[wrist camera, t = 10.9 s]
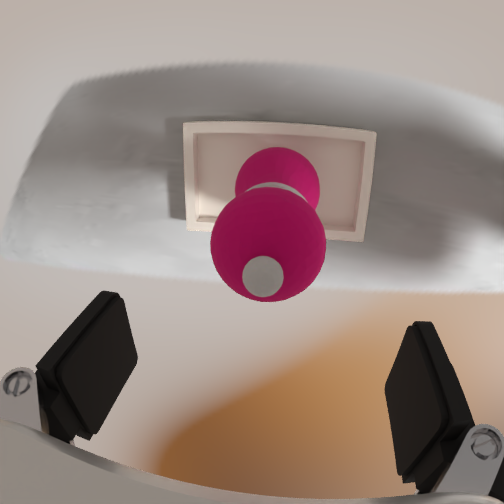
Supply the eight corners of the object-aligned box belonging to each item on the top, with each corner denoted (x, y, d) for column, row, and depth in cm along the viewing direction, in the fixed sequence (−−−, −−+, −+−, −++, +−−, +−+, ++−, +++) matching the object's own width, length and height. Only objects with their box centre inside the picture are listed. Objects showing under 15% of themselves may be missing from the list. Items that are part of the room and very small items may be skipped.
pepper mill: (228, 169, 31) (143, 264, 13) (287, 127, 29) (283, 162, 11) (271, 225, 33) (245, 371, 15) (330, 187, 31) (378, 306, 13)
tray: (370, 130, 29) (376, 132, 26) (358, 232, 33) (363, 242, 31) (190, 121, 30) (182, 122, 28) (193, 221, 35) (186, 230, 33)
